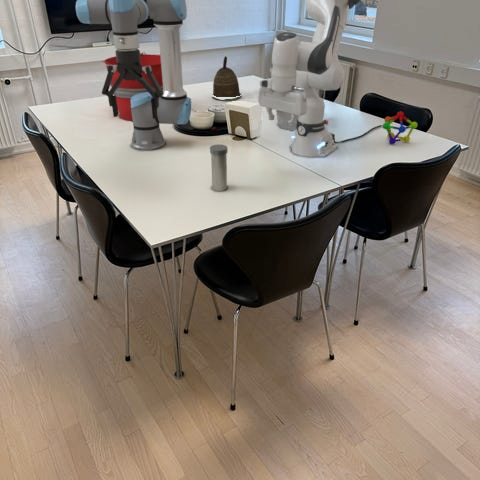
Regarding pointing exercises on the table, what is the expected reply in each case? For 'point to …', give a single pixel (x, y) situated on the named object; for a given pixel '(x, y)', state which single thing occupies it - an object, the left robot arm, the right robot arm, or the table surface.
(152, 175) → the table surface
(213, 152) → the lid
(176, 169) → the table surface
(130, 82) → the bucket
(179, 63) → the left robot arm
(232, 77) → the bell
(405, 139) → the educational toy
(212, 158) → the jar
